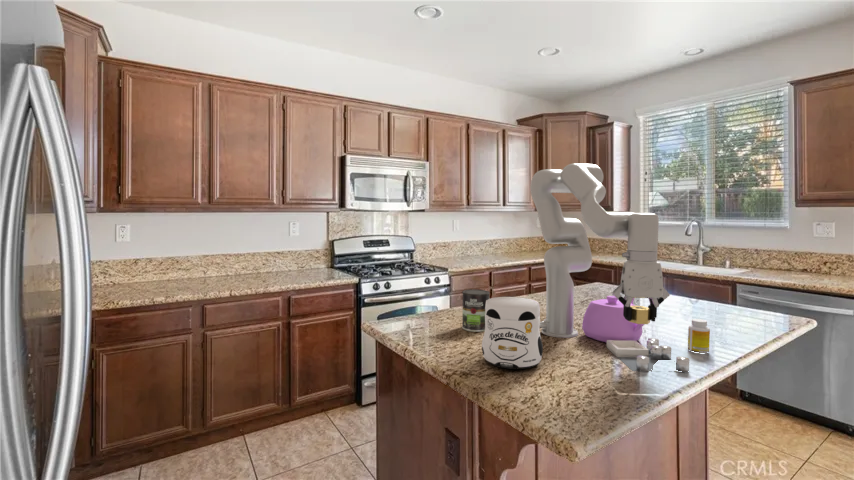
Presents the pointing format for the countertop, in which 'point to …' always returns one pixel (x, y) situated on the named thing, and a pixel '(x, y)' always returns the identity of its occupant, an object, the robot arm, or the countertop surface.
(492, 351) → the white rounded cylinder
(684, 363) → the spacers
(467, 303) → the coffee can
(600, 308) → the teapot
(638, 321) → the nut
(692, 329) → the supplement bottle
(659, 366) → the countertop surface
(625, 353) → the dish
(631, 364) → the mat
